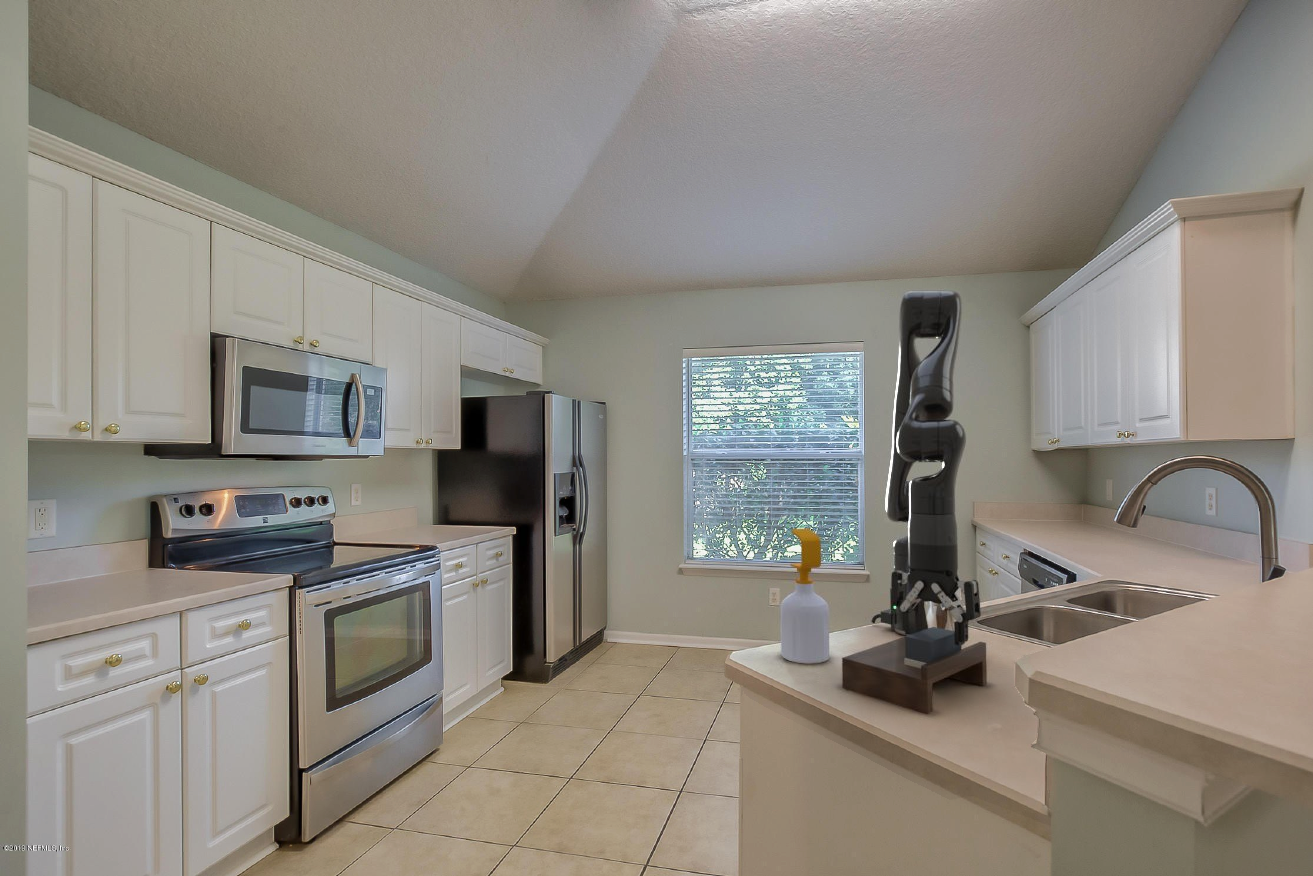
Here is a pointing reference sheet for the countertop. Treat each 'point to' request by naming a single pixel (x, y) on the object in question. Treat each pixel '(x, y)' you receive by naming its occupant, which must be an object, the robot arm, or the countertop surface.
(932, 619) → the beer glass
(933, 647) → the stepped grey pillar
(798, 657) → the soap bottle
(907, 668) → the board
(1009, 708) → the countertop surface
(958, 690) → the countertop surface
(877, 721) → the countertop surface
